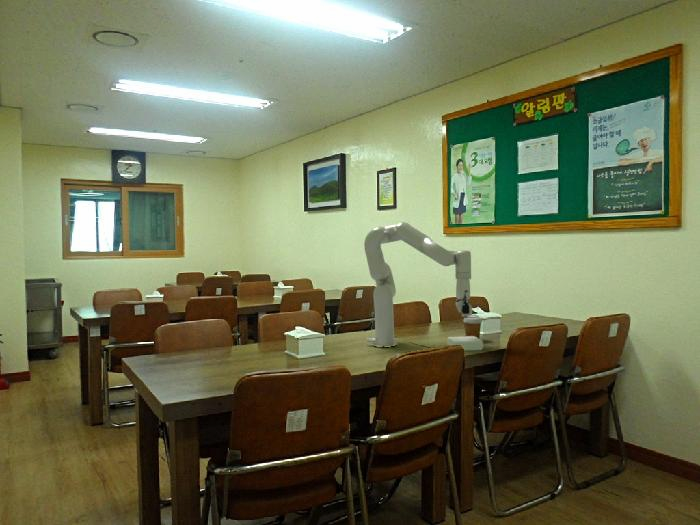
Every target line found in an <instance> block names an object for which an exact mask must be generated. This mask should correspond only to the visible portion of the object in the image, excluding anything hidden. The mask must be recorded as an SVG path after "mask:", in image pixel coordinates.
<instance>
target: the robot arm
mask: <svg viewBox="0 0 700 525" xmlns="http://www.w3.org/2000/svg"><path fill="white" fill-rule="evenodd" d="M399 241H402V242H404V243H405V244H407V245H409V246H411V247H412V248H413V249H415V250H417V251H418V252H420V253H421V254H423V255H425V256H427V257H428V258H430V259H431V260H433V261H434V262H436V263H437V264H439V265H441V266H443V267H450V266H455V275H454V276H455V280H456V283H455V284H456V288H455V289H456V290H455V298H456V299H460V300H462V301H463V305H462V311H461V312H462V313H463V314H469V304H470V299H471V282H470V280H471V279H472V254H471V253H472V252H471V251H470V250H456V251H454V250H448V249H446V248H445V247H443V246H442V245H440V244H438V243H437V242H435V241H433V239H431V237H429V236H428V235H427V234H426V233H423V232H422V231H421V230H419V229H417V228H415V227H413V226H412V225H411V224H410V223H408V222H405V221H400V222H398V223H397V224H393V225H388V226H377V227H374V228H373V229H371V230H369V232H368V233H367V234H366V236H365V239H364V244H363V245H364V252H365V256H366V262H367V265H368V269H369V270H368V271H369V275H370V277H371V279H372V280H373V281H375V285H376V286H375V287H374V289H373V293H372V294H373V297H372V298H373V303H374V304H373V306H374V328H375V329H374V336H372V337H366V339H365V341H366V342H367V343H372V344H374V345H378V346H393V345H397V346H398V342H397V341H395V320H394V316H395V315H394V313H395V312H394V297H395V295H396V294H397V293H396V290H397V289H396V285H395V284H396V283H395V281H394V276H393V272H392V269H391V267H390V265H389V264H388V263H387V262H386V261H385V258H384V253H383V249H382V245H383V244H388V243H393V242H399ZM464 301H465V302H464Z"/></svg>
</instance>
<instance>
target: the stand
mask: <svg viewBox="0 0 700 525" xmlns="http://www.w3.org/2000/svg"><path fill="white" fill-rule="evenodd" d="M446 338H447V339H446V342H447V343H446V344H447V346H448V345H461V346H463V347H464V348H465V350H464V351H483V350H484V341H483V340H482V339H480V338H479V339H478V338H477V337H475V336H466V335H465V336H448V337H446ZM482 349H483V350H482Z"/></svg>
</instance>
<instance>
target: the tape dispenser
mask: <svg viewBox="0 0 700 525" xmlns="http://www.w3.org/2000/svg"><path fill="white" fill-rule="evenodd" d="M455 301H456V302H455V307H456V309H457V311H458V313H460V314H461V317H462V318H463V317H464V318H465V317H472V315H473V307H472V304H470V303H469V314H463V313H462V312H461V311H462V305H463V301H462V300H460V299H458V298H456V300H455ZM464 302H465V301H464Z"/></svg>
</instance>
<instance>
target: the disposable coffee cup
mask: <svg viewBox="0 0 700 525" xmlns="http://www.w3.org/2000/svg"><path fill="white" fill-rule="evenodd" d="M482 321H483V320H482V318H481V317H476V316H468V317H467V316H465V317H464V318H463V320H462V322H463V325H464V333H465V336H475V337H477V338H478V339H480V336H481V326H482Z"/></svg>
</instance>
